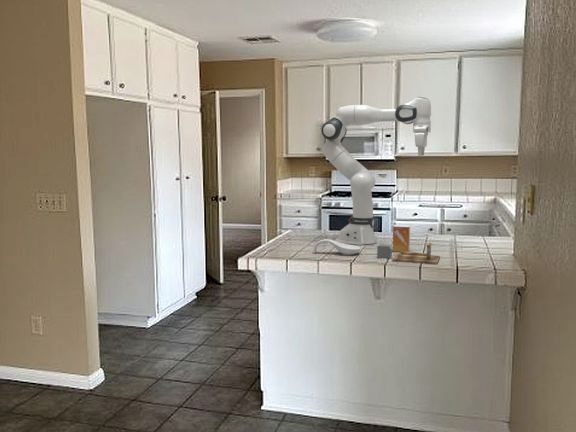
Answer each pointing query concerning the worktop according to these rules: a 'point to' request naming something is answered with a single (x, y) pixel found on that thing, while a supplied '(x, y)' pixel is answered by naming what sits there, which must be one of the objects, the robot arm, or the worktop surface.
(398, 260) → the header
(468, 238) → the worktop surface
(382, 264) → the worktop surface
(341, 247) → the spoon rest
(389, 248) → the grey block
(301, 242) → the worktop surface
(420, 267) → the worktop surface
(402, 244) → the small box
